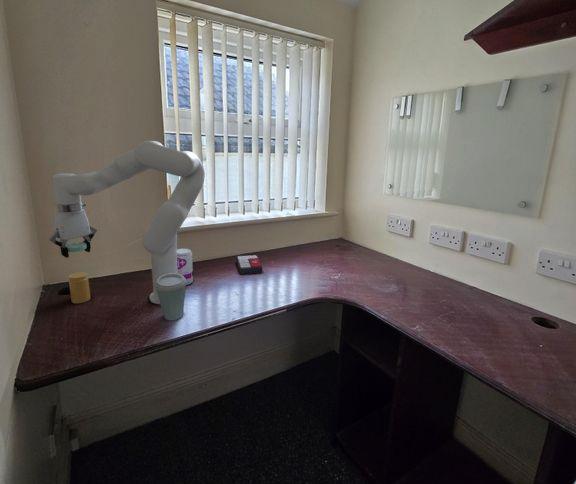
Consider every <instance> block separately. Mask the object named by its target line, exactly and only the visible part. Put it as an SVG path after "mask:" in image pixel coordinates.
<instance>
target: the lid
mask: <svg viewBox="0 0 576 484" xmlns="http://www.w3.org/2000/svg"><path fill="white" fill-rule="evenodd" d="M66 247H67V248H68V253H78V252H81V251H85V250H84V249H86V248H87V244H86V243H84V242H83V241H78V242H77V241H76V242H71V243H67V244H66Z"/></svg>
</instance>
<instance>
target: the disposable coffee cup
mask: <svg viewBox="0 0 576 484" xmlns="http://www.w3.org/2000/svg"><path fill="white" fill-rule="evenodd" d="M186 287H187V285H186V278H184V276H182V275H181V274H178V273H168V274H164V275H161V276H160V277H159V278H157V281H156V282H155V288H156V290H157V293H158V297H159V301H160V304H159V305H160V308H161V310H162V316H163V317H164V319H165V320H167V321H177V320H179V319H181V318H182V317H183V314H184V309H185V299H186Z"/></svg>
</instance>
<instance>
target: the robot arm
mask: <svg viewBox="0 0 576 484" xmlns="http://www.w3.org/2000/svg"><path fill="white" fill-rule="evenodd" d="M204 167H205V166H204V165H203V163H202V161H201V159H200V158H199V156H198V155H197V154H195V153H194V152H193V151H190V150H182V151H180V150H178V149H175V148H170V147H167V146H164V145H163V144H162V142H160V141H158V140H143V141H141V142H139V143H138V144H137V145H136V146H135V147H134V148H132V149H130V150H128V151H126V152H123V153H121V154H119V155H117V156H116V157H115V158H114V161H112V162H111V163H109V164H108V165H105V166H103V167H101V168H99V169H96V170H95V171H90V172H86V173H82V174H75V173H71V172H67V173H66V172H65V173H64V172H63V173H56V174H53V176H52V184H53V190H54V195H55V196H54V198H55V204H56V210H57V211H56V212H55V214H54V232H53V233H52V234H51V235H50V236H49V237H48V241H50V242H51V243H53V244H55V245H56V246H59V249H60V255H61V256H62V257H64V258H67V259H68V258H69V257H70V255H69V252H68V248H67V247H66V245H68V240H74V239H78V238H82V239H83V241H82V242H84V243H86V244H87V248H86V249H84V250H83V251H84V252H86V253H91V249H92V247H91V242H92V239H93V238H94V237H95V234H96V233H97V232H98V230H97V228H95V227H93V226H91V225H90V222H89V219H88V216H87V212H86V211H85V209H84V207H86V206H87V203H86V202H83V201H82V196H92V195H94V194H97V193H101V192H102V191H105V190H107V189H109V188H112V187H113V186H115V185H118V184H119V183H122V182H124V181H126V180H130V179H131V178H133V177H135V176H136V177H137V175H140V174H142V173H144V172H146V171H148V170H150V169H152V170H155V171H158V172H163V173H165V174H169V175H172V176H176V177H180V179H179V180H178V182H177V184H176V186H175V187H174V190H173V191H172V193H171V194H170V196H169V198H168V199H167V200H166V201H165V202H164V203H162V204H161V205H160V206H159V208H158V209H157V210H156V212H155V213H154V216H153V217H152V220H151V221H150V223H149V224H148V226H147V228H146V230H145V231H144V233H143V236H142V246H143V247H144V249H145V250H146V251H147V252H148V253H150V265H151V278H152V292H151V293H150V295H149V301H150V302H151V303H153V304H155V305H161V304H160V301H159V297H158V293H157V290H156V288H155V282H156V281H157V278H159V277H160V276H161V275H164V274H168V273H178V269H177V249H178V232H179V230H180V229H181V228H182V225H183V224H184V222H185V221H186V219H187V218H188V215H189V214H190V211H191V209H192V207H193V205H194V204H195V202H196V200H197V198H198V196H199V194H200V192H201V191H202V188H203V186H204V183H205V178H206V177H205V175H206V174H205V168H204ZM57 239H59V241H58V240H57Z"/></svg>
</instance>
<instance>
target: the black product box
mask: <svg viewBox="0 0 576 484" xmlns="http://www.w3.org/2000/svg"><path fill="white" fill-rule="evenodd" d="M236 266H237V268H238V271H239V272H238V273H239V275H249V274H263V266H262V264H261V262H260V260H259V257H258V255H256V254H254V255H238V256H236Z"/></svg>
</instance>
